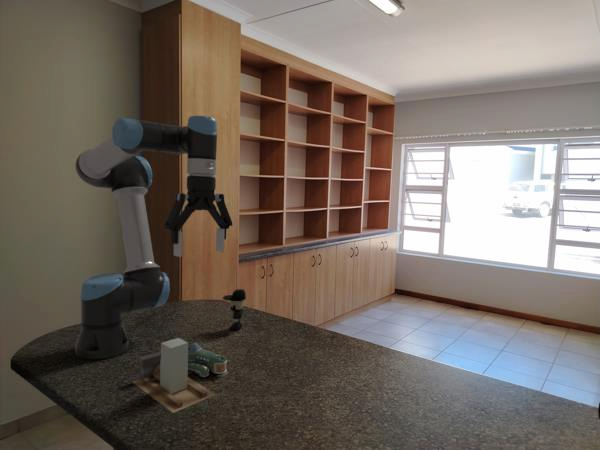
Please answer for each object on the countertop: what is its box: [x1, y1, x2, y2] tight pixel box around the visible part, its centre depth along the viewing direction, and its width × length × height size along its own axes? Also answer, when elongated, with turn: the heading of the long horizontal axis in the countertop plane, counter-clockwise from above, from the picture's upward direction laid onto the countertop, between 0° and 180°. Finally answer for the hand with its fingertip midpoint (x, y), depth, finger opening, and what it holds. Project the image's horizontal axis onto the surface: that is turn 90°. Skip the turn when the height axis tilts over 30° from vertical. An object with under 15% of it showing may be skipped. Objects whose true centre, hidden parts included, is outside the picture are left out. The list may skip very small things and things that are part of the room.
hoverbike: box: [158, 339, 230, 378], centre depth 118 cm, size 10×25×8 cm, turn 64°
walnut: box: [153, 365, 160, 381], centre depth 108 cm, size 4×4×4 cm
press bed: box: [132, 352, 217, 414], centre depth 104 cm, size 20×12×7 cm, turn 48°
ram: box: [160, 337, 189, 394], centre depth 104 cm, size 5×5×12 cm
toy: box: [222, 288, 247, 331], centre depth 151 cm, size 8×8×15 cm
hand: (199, 253), depth 111 cm, fingers open, 13 cm apart
